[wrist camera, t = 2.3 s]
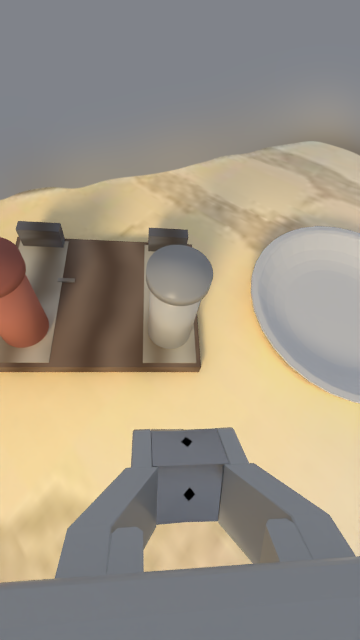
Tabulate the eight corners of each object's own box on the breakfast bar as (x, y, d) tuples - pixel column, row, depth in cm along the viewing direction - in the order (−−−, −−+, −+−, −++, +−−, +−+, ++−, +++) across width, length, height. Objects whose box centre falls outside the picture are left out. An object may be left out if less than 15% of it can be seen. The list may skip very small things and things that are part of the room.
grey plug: (143, 352, 36) (145, 297, 26) (144, 307, 39) (146, 243, 29) (195, 352, 37) (215, 299, 27) (192, 308, 40) (210, 246, 30)
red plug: (-9, 351, 34) (-68, 292, 24) (3, 304, 37) (-45, 234, 27) (48, 351, 35) (13, 294, 25) (56, 305, 38) (27, 237, 28)
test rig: (-11, 371, 35) (-30, 356, 31) (21, 244, 44) (9, 219, 40) (198, 371, 38) (205, 357, 34) (190, 251, 46) (194, 229, 43)
